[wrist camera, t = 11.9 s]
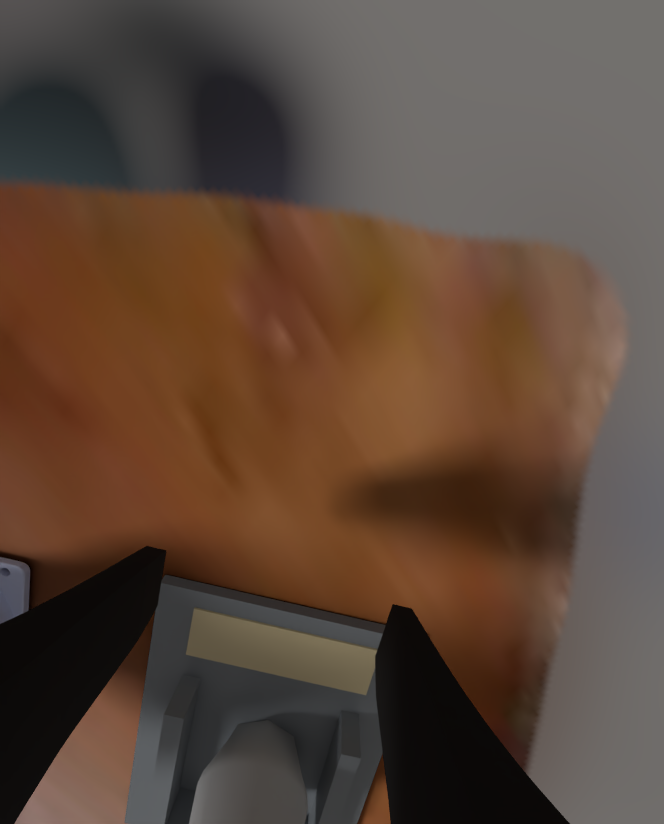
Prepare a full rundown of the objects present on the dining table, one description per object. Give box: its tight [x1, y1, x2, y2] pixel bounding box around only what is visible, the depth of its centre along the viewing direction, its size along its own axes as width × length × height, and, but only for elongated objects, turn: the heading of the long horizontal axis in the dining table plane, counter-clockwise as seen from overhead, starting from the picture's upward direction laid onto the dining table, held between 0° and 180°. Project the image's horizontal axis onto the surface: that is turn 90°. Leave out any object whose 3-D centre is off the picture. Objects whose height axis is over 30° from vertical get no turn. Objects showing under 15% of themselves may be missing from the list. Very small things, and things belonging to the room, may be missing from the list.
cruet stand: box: [125, 575, 386, 824], centre depth 18 cm, size 14×18×3 cm
